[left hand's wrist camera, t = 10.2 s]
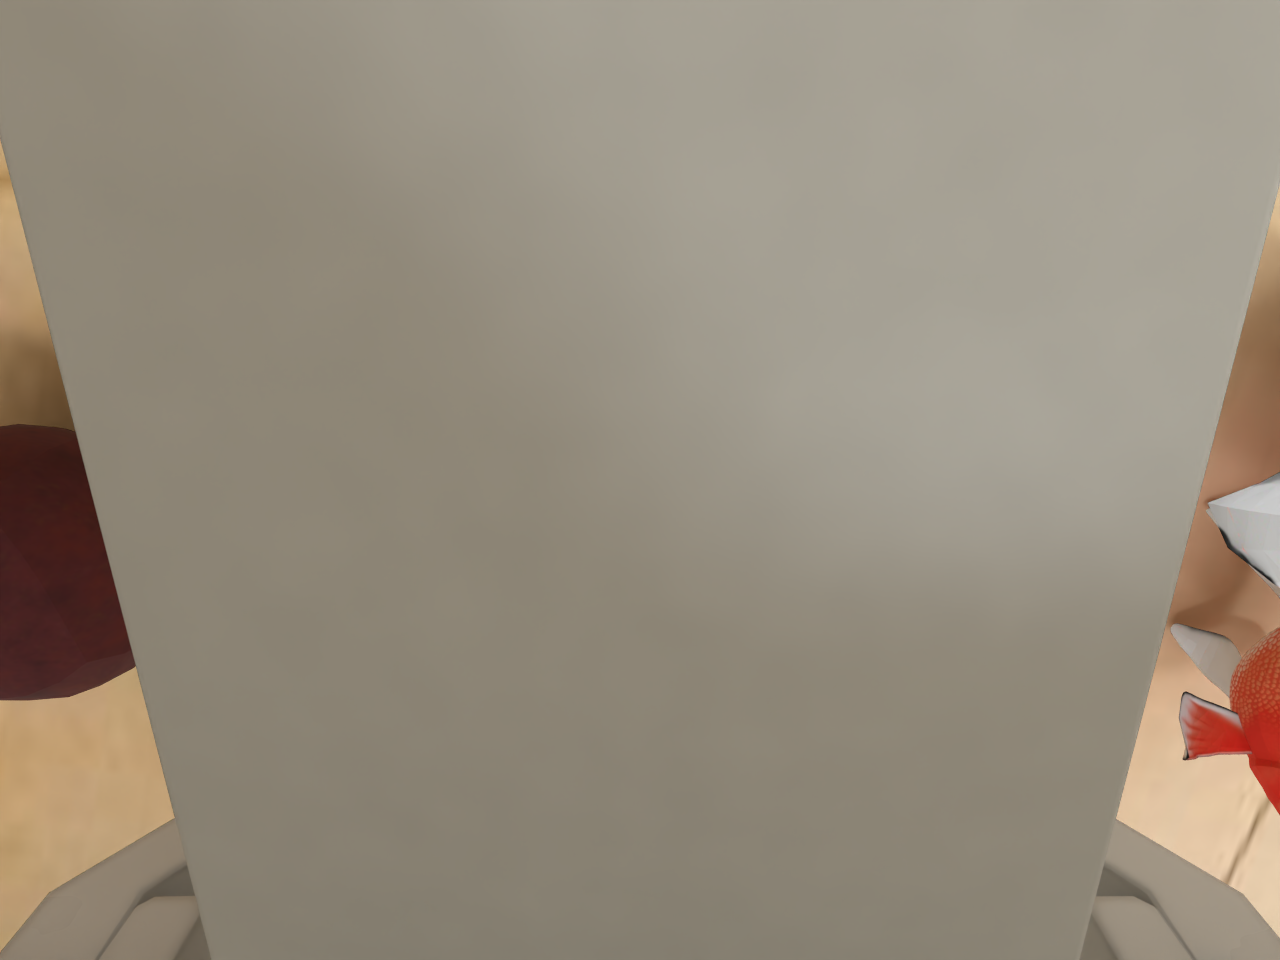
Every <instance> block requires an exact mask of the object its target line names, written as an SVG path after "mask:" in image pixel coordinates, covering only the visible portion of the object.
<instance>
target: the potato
mask: <svg viewBox="0 0 1280 960" xmlns="http://www.w3.org/2000/svg"><path fill="white" fill-rule="evenodd" d="M135 666H136V664H135V660H134V657H133V653H132V649H131V645H130V641H129V637H128V633H127V629H126V625H125V622H124V618H123V614H122V610H121V606H120V602H119V598H118V594H117V590H116V587H115V583H114V579H113V575H112V571H111V567H110V563H109V559H108V555H107V552H106V548H105V544H104V540H103V536H102V532H101V528H100V524H99V520H98V517H97V513H96V509H95V505H94V501H93V497H92V493H91V489H90V485H89V482H88V478H87V474H86V470H85V466H84V462H83V458H82V454H81V450H80V447H79V443H78V439H77V435H76V432H74V431H71V430H68V429H63V428H56V427H46V426H35V425H23V424H16V425H9V426H1V427H0V700H38V699H50V698H62V697H70V696H73V695H76V694H78V693H81V692H84V691H87V690H89V689H92V688H95V687H97V686H100V685H102V684H104V683H106V682H108V681H110V680H112V679H113V678H115V677H117V676H119V675H121V674H123V673H125V672H127V671H129V670H130V669H132V668H134V667H135Z"/></svg>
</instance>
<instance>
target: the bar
mask: <svg viewBox="0 0 1280 960" xmlns="http://www.w3.org/2000/svg"><path fill="white" fill-rule="evenodd" d="M0 139H1V143H2V147H3V151H4V155H5V159H6V163H7V167H8V170H9V174H10V178H11V182H12V186H13V190H14V194H15V198H16V202H17V205H18V209H19V213H20V217H21V221H22V225H23V229H24V233H25V237H26V240H27V244H28V248H29V252H30V256H31V260H32V264H33V268H34V272H35V275H36V279H37V283H38V287H39V291H40V295H41V299H42V303H43V307H44V310H45V314H46V318H47V322H48V326H49V330H50V334H51V338H52V342H53V345H54V349H55V353H56V357H57V361H58V365H59V369H60V373H61V377H62V380H63V384H64V388H65V392H66V396H67V400H68V404H69V408H70V412H71V415H72V419H73V423H74V427H75V431H76V435H77V439H78V443H79V447H80V450H81V454H82V458H83V462H84V466H85V470H86V474H87V478H88V482H89V485H90V489H91V493H92V497H93V501H94V505H95V509H96V513H97V517H98V520H99V524H100V528H101V532H102V536H103V540H104V544H105V548H106V552H107V555H108V559H109V563H110V567H111V571H112V575H113V579H114V583H115V587H116V590H117V594H118V598H119V602H120V606H121V610H122V614H123V618H124V622H125V625H126V629H127V633H128V637H129V641H130V645H131V649H132V653H133V657H134V660H135V664H136V668H137V672H138V676H139V680H140V684H141V688H142V692H143V695H144V699H145V703H146V707H147V711H148V715H149V719H150V723H151V727H152V730H153V734H154V738H155V742H156V746H157V750H158V754H159V758H160V762H161V765H162V769H163V773H164V777H165V781H166V785H167V789H168V793H169V797H170V800H171V804H172V808H173V812H174V816H175V820H176V824H177V828H178V832H179V835H180V839H181V843H182V847H183V851H184V855H185V859H186V863H187V867H188V870H189V874H190V878H191V882H192V886H193V890H194V894H195V898H196V902H197V905H198V909H199V913H200V917H201V921H202V925H203V929H204V933H205V937H206V940H207V944H208V948H209V952H210V956H211V960H1079V959H1080V955H1081V952H1082V948H1083V944H1084V940H1085V936H1086V932H1087V928H1088V924H1089V921H1090V917H1091V913H1092V909H1093V905H1094V901H1095V897H1096V893H1097V890H1098V886H1099V882H1100V878H1101V874H1102V870H1103V866H1104V862H1105V859H1106V855H1107V851H1108V847H1109V843H1110V839H1111V835H1112V831H1113V828H1114V824H1115V820H1116V816H1117V812H1118V808H1119V804H1120V800H1121V797H1122V793H1123V789H1124V785H1125V781H1126V777H1127V773H1128V769H1129V766H1130V762H1131V758H1132V754H1133V750H1134V746H1135V742H1136V738H1137V735H1138V731H1139V727H1140V723H1141V719H1142V715H1143V711H1144V707H1145V704H1146V700H1147V696H1148V692H1149V688H1150V684H1151V680H1152V677H1153V673H1154V669H1155V665H1156V661H1157V657H1158V653H1159V649H1160V646H1161V642H1162V638H1163V634H1164V630H1165V626H1166V622H1167V618H1168V615H1169V611H1170V607H1171V603H1172V599H1173V595H1174V591H1175V587H1176V584H1177V580H1178V576H1179V572H1180V568H1181V564H1182V560H1183V556H1184V553H1185V549H1186V545H1187V541H1188V537H1189V533H1190V529H1191V525H1192V522H1193V518H1194V514H1195V510H1196V506H1197V502H1198V498H1199V494H1200V491H1201V487H1202V483H1203V479H1204V475H1205V471H1206V467H1207V463H1208V460H1209V456H1210V452H1211V448H1212V444H1213V440H1214V436H1215V432H1216V429H1217V425H1218V421H1219V417H1220V413H1221V409H1222V405H1223V401H1224V398H1225V394H1226V390H1227V386H1228V382H1229V378H1230V374H1231V370H1232V367H1233V363H1234V359H1235V355H1236V351H1237V347H1238V343H1239V339H1240V336H1241V332H1242V328H1243V324H1244V320H1245V316H1246V312H1247V308H1248V305H1249V301H1250V297H1251V293H1252V289H1253V285H1254V281H1255V277H1256V274H1257V270H1258V266H1259V262H1260V258H1261V254H1262V250H1263V247H1264V243H1265V239H1266V235H1267V231H1268V227H1269V223H1270V219H1271V216H1272V212H1273V208H1274V204H1275V200H1276V196H1277V192H1278V188H1279V185H1280V0H0Z"/></svg>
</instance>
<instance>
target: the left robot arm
mask: <svg viewBox="0 0 1280 960" xmlns="http://www.w3.org/2000/svg"><path fill="white" fill-rule="evenodd" d="M0 960H211V956H210V952H209V948H208V944H207V940H206V937H205V933H204V929H203V925H202V921H201V917H200V913H199V909H198V905H197V902H196V898H195V894H194V890H193V886H192V882H191V878H190V874H189V870H188V867H187V863H186V859H185V855H184V851H183V847H182V843H181V839H180V835H179V832H178V828H177V824H176V820H175V818H174V819H172V820H171V821H169V822H167V823H165V824H164V825H162V826H160V827H159V828H157V829H155V830H154V831H152V832H150V833H149V834H147V835H145V836H144V837H142V838H140V839H139V840H137V841H135V842H134V843H132V844H130V845H128V846H127V847H125V848H123V849H122V850H120V851H118V852H117V853H115V854H113V855H112V856H110V857H108V858H107V859H105V860H103V861H102V862H100V863H98V864H97V865H95V866H93V867H91V868H90V869H88V870H86V871H85V872H83V873H81V874H80V875H78V876H76V877H75V878H73V879H71V880H70V881H68V882H66V883H65V884H63V885H61V886H60V887H58V888H56V889H54V890H53V891H51V892H49V894H48V895H47V896H46V897H45V898H44V900H43V901H42V902H41V903H40V904H39V906H38V907H37V908H36V909H35V911H34V912H33V913H32V914H31V915H30V917H29V918H28V919H27V920H26V922H25V923H24V924H23V925H22V926H21V928H20V929H19V930H18V931H17V933H16V934H15V935H14V936H13V937H12V939H11V940H10V941H9V942H8V943H7V945H6V946H5V947H4V948H3V950H2V951H1V952H0ZM1079 960H1280V938H1279V937H1278V936H1277V934H1276V933H1275V932H1274V931H1273V930H1272V928H1271V927H1270V926H1269V925H1268V924H1267V922H1266V921H1265V920H1264V919H1263V918H1262V916H1261V915H1260V914H1259V913H1258V912H1257V910H1256V909H1255V908H1254V907H1253V905H1252V904H1251V903H1250V902H1249V901H1248V899H1247V898H1246V897H1245V896H1244V895H1243V894H1242V893H1240V892H1239V891H1237V890H1235V889H1234V888H1232V887H1230V886H1229V885H1227V884H1225V883H1224V882H1222V881H1220V880H1218V879H1217V878H1215V877H1213V876H1212V875H1210V874H1208V873H1207V872H1205V871H1203V870H1202V869H1200V868H1198V867H1196V866H1195V865H1193V864H1191V863H1190V862H1188V861H1186V860H1185V859H1183V858H1181V857H1180V856H1178V855H1176V854H1174V853H1173V852H1171V851H1169V850H1168V849H1166V848H1164V847H1163V846H1161V845H1159V844H1158V843H1156V842H1154V841H1152V840H1151V839H1149V838H1147V837H1146V836H1144V835H1142V834H1141V833H1139V832H1137V831H1135V830H1134V829H1132V828H1130V827H1129V826H1127V825H1125V824H1124V823H1122V822H1120V821H1119V820H1117V819H1116V820H1115V824H1114V828H1113V831H1112V835H1111V839H1110V843H1109V847H1108V851H1107V855H1106V859H1105V862H1104V866H1103V870H1102V874H1101V878H1100V882H1099V886H1098V890H1097V893H1096V897H1095V901H1094V905H1093V909H1092V913H1091V917H1090V921H1089V924H1088V928H1087V932H1086V936H1085V940H1084V944H1083V948H1082V952H1081V955H1080V959H1079Z"/></svg>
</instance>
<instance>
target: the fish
mask: <svg viewBox="0 0 1280 960" xmlns="http://www.w3.org/2000/svg"><path fill="white" fill-rule="evenodd" d="M1208 505H1209V507H1210V509H1207V510H1206V512H1207V514H1208V515H1209V516H1210V517H1211V519H1212V520H1213V521H1214V522H1215V524H1216V525H1217V526H1218V527H1219V529H1220V531H1221V534H1222V536H1223V538H1224V540H1225V542H1226V545H1227V547H1228V548H1229V549H1230V550H1231V551H1233V552H1234V553H1235V554H1236V555H1238V556H1239V557H1240V558H1241V559H1243V560H1244V561H1245V562H1246V563H1247V564H1248V565H1249V566H1250V567H1251V568H1252V569H1253V570H1254V571H1255V572H1256V573H1257V574H1258V575H1259V576H1260V577H1261V578H1262V579H1263V580H1264V581H1265V582H1266V583H1267V584H1268V585H1269V586H1270V588H1271V589H1272V590H1273V591H1274V592H1275V593H1276V594H1277V595H1278V597H1279V598H1280V472H1279V473H1277V474H1275V475H1274V476H1272V477H1270V478H1268V479H1266V480H1264V481H1262V482H1261V483H1258V484H1255V485H1253V486H1250V487H1248V488H1245V489H1242V490H1240V491H1237V492H1235V493H1232V494H1229V495H1227V496H1224V497H1222V498H1219V499H1216V500H1214V501H1211V502H1209V503H1208ZM1171 634H1172V635H1173V637H1174V638H1175V640H1176V641H1177V642H1178V644H1179V645H1180V646H1181V647H1182V649H1183V650H1184V651H1185V652H1186V653H1187V654H1188V656H1189V657H1190V658H1191V659H1192V661H1193V662H1194V663H1195V665H1196V666H1197V667H1198V668H1199V670H1200V671H1201V672H1202V673H1203V674H1204V675H1205V676H1206V677H1207V678H1208V679H1209V680H1210V681H1211V682H1212V683H1213V684H1215V685H1216V686H1217V687H1218V688H1220V689H1221V690H1222V691H1223V692H1224V693H1225V694H1226V695H1227V696H1228V697H1229V698H1230V708H1231V710H1229V709H1227V708H1224V707H1222V706H1219V705H1217V704H1214V703H1211V702H1208V701H1206V700H1203V699H1201V698H1199V697H1196V696H1195V695H1193V694H1191V693H1188V692H1184V693H1183V695H1182V698H1181V706H1180V714H1179V721H1180V725H1181V729H1182V734H1183V738H1184V742H1185V752H1184V756H1183V760H1192V759H1196V758H1198V757H1208V756H1213V755H1218V754H1247V755H1248V757H1249V765H1250V768H1251V770H1252V772H1253V773H1254V775H1255V777H1256V778H1257V780H1258V781H1259V783H1260V784H1261V786H1262V787H1263V789H1264V791H1265V793H1266V795H1267V797H1268V799H1269V800H1270V802H1271V803H1272V804H1273V805H1274V807H1275V808H1276V810H1277V812H1278V813H1279V815H1280V627H1278V628H1277V629H1275V630H1273V631H1272V632H1270V633H1269V634H1267V635H1266V636H1264V637H1263V638H1262V639H1261V640H1260V641H1258V642H1257V643H1256V644H1255V645H1254V646H1253V647H1251V648H1250V649H1249V651H1248V652H1247V653H1246V654H1245V655H1244V656H1243V657H1241V655H1240V653H1239V652H1238V650H1237V648H1236V646H1235V645H1234V644H1233V643H1232V641H1231V640H1229V639H1228V638H1226V637H1225V636H1223V635H1220V634H1217V633H1213V632H1209V631H1204V630H1200V629H1196V628H1193V627H1189V626H1186V625H1182V624H1173V625H1172V627H1171Z"/></svg>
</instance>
